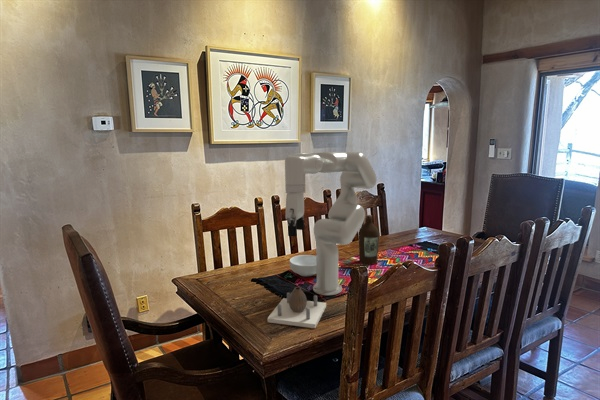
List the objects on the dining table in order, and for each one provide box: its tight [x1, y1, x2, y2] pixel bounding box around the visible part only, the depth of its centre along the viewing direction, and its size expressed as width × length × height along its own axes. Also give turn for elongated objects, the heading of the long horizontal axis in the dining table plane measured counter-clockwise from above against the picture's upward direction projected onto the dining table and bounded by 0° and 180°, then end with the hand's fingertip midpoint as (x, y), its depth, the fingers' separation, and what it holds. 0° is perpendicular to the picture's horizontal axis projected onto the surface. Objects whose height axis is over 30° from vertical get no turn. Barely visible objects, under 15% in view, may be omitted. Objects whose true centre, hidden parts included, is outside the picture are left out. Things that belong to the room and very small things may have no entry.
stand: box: [267, 291, 327, 329], centre depth 150 cm, size 18×18×6 cm
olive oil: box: [358, 214, 380, 266], centre depth 205 cm, size 11×11×25 cm
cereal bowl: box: [289, 254, 317, 277], centre depth 191 cm, size 17×17×7 cm
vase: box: [289, 286, 308, 312], centre depth 149 cm, size 7×7×9 cm
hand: (296, 232), depth 151 cm, fingers open, 9 cm apart
